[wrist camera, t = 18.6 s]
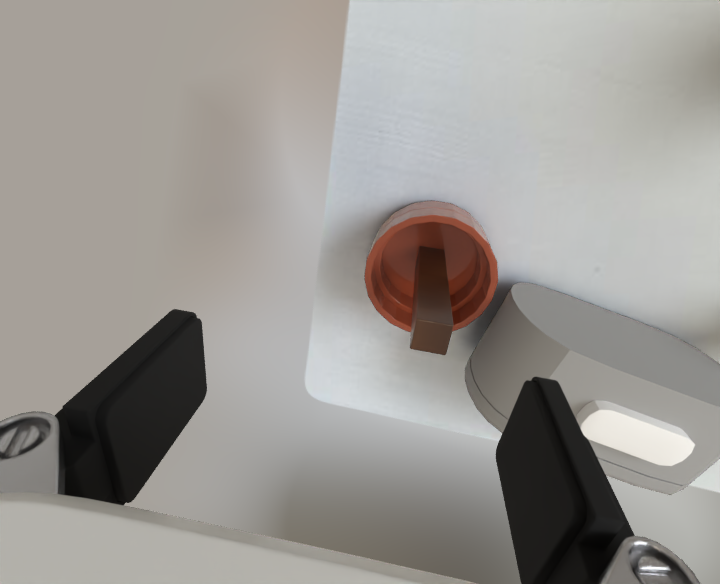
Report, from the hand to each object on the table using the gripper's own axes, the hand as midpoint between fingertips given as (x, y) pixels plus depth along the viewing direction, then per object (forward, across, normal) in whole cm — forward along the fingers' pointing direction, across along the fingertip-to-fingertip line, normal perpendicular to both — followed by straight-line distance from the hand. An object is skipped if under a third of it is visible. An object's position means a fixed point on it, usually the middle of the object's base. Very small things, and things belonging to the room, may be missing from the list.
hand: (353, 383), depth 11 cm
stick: (+27, -4, +6) cm, 28 cm away
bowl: (+28, -4, +6) cm, 29 cm away
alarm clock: (+28, -20, +13) cm, 36 cm away
